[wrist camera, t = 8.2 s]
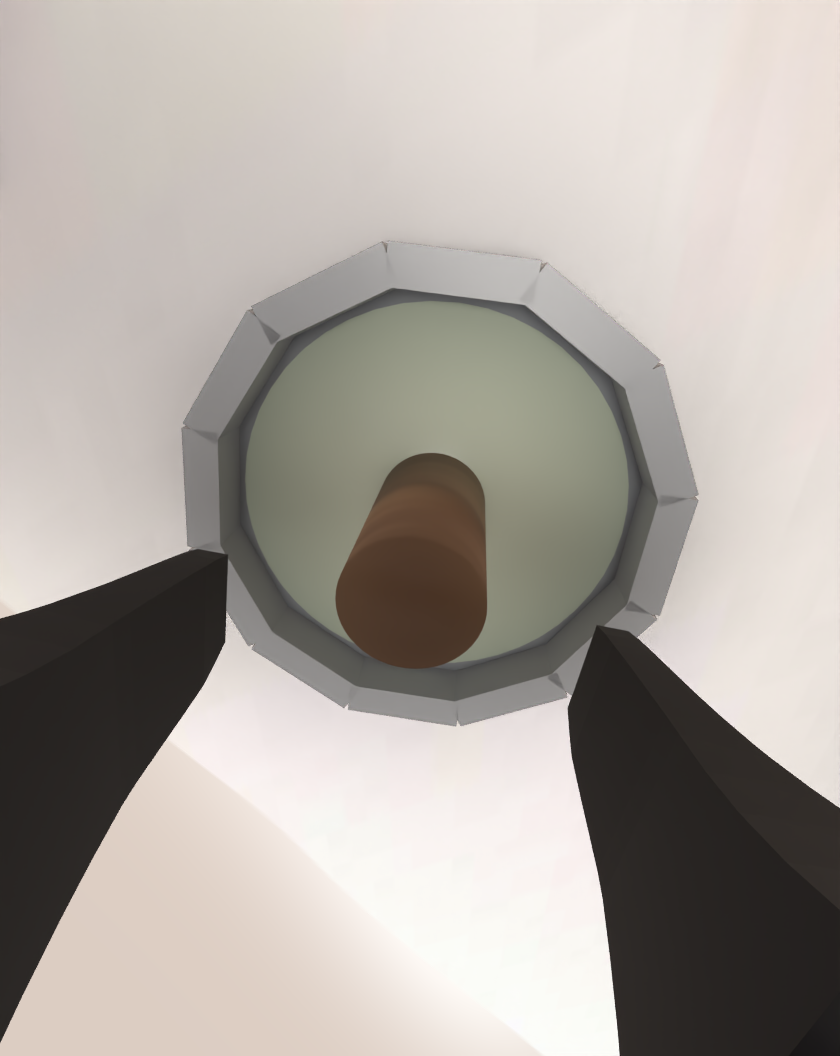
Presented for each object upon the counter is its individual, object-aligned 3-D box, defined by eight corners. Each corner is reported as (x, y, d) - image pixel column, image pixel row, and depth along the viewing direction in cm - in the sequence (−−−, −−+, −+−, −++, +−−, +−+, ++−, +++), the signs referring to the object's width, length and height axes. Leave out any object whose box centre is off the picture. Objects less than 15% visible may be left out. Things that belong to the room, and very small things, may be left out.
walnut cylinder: (372, 539, 18) (326, 651, 13) (389, 442, 17) (346, 521, 12) (471, 560, 18) (468, 682, 13) (496, 465, 17) (504, 555, 12)
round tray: (223, 644, 22) (194, 685, 19) (212, 222, 16) (170, 212, 14) (600, 701, 21) (614, 751, 19) (727, 287, 15) (768, 289, 13)
